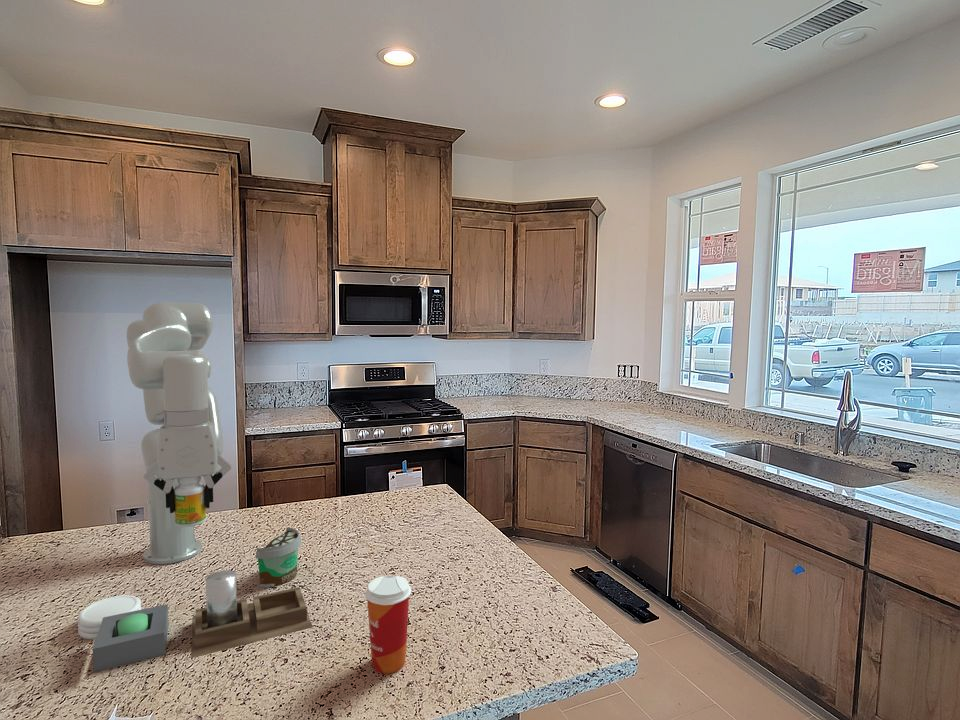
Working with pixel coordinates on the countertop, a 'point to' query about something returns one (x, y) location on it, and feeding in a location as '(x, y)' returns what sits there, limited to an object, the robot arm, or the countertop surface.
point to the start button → (133, 624)
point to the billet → (221, 598)
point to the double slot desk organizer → (252, 622)
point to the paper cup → (388, 622)
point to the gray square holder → (130, 640)
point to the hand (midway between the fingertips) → (190, 507)
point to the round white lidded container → (104, 613)
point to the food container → (279, 559)
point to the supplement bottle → (189, 502)
